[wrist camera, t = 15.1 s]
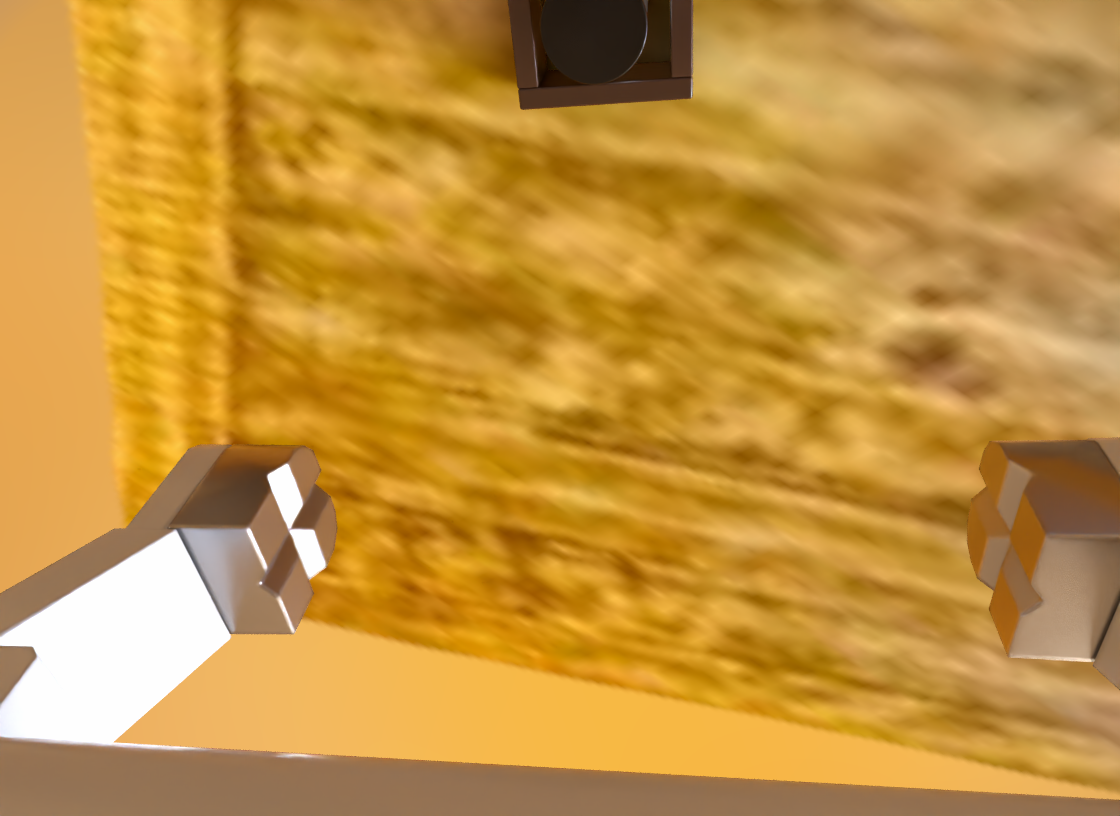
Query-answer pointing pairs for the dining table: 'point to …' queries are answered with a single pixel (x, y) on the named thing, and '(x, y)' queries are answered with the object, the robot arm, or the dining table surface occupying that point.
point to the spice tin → (594, 37)
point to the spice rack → (632, 86)
